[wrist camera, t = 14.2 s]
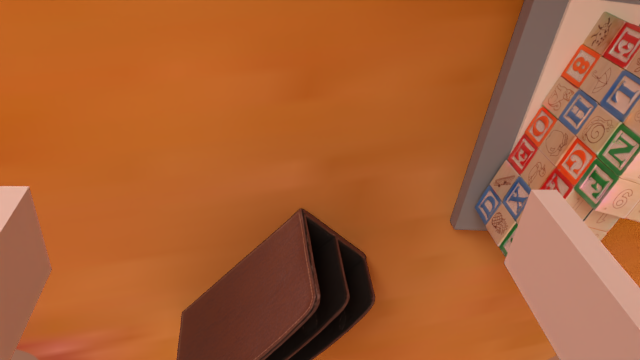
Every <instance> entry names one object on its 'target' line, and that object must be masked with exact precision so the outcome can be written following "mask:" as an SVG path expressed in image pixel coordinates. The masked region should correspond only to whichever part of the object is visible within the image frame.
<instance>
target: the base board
mask: <svg viewBox="0 0 640 360" xmlns="http://www.w3.org/2000/svg"><path fill="white" fill-rule="evenodd" d="M604 12H608V13H610V14H612V15H614V16H616V17H618V18H620V19H622V20H625V21H627V22H629V23H631V24H635V25H637V26H639V27H640V0H524V3H523V6H522V9H521V12H520V15H519V18H518V21H517V24H516V27H515V30H514V33H513V36H512V39H511V42H510V45H509V47H508V50H507V53H506V56H505V59H504V62H503V65H502V68H501V71H500V74H499V77H498V80H497V83H496V86H495V89H494V92H493V95H492V98H491V101H490V104H489V107H488V109H487V112H486V115H485V118H484V121H483V124H482V127H481V130H480V133H479V136H478V139H477V142H476V145H475V148H474V151H473V154H472V157H471V160H470V163H469V166H468V169H467V171H466V174H465V177H464V180H463V183H462V186H461V189H460V192H459V195H458V198H457V201H456V204H455V207H454V210H453V213H452V216H451V219H450V222H451V224H452V226H453V228H454V229H456V230H483V231H488V230H487V228H486V226H485V225H484V223H483V221H482V219H481V218H480V216H479V214H478V213H477V211H476V209H475V206H476V204H477V203H478V201H479V200H480V198H481V197H482V195H483V193H484V192H485V190H486V189H487V187H488V186H489V185H490V183H491V181H492V180H493V178H494V177H495V175H496V174H497V172H498V171H499V169H500V168H501V166H502V165H503V163H504V162H505V160H507V159H508V157H509V155H510V154H511V152H512V151H513V150H514V148H515V146H516V145H517V143H518V142H519V140H520V139H521V137H522V136H523V135H524V133H525V131H526V129H527V127H528V126H529V124H530V123H531V121H532V120H533V118H534V117H535V115H536V114H537V112H538V110H539V109H540V108H541V106H542V103H543V101H544V100H545V98H546V97H547V95H548V93H549V92H550V90H551V89H552V87H553V86H554V84H555V83H556V81H557V80H558V79H559V77H560V76H561V75H562V73H563V71H564V70H565V68H566V67H567V65H568V64H569V62H570V60H571V59H572V58H573V56H574V54H575V53H576V51H577V50H578V48H579V47H580V46H581V45H582V44H583V43H584V41H585V39H586V38H587V36H588V35H589V33H590V32H591V30H592V29H593V27H594V26H595V24H596V23H597V21H598V20H599V18H600V17H601V15H602V14H603V13H604Z"/></svg>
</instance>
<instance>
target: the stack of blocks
mask: <svg viewBox="0 0 640 360" xmlns="http://www.w3.org/2000/svg"><path fill="white" fill-rule="evenodd" d="M531 190H557V191H558V192H559V193H560V194H561V195H562V197H563V198H564V199H565V200H566V201H567V202H568V204H569V205H570V206H571V207H572V208H573V210H574V211H575V212H576V213H577V214H578V215H579V217H580V218H581V219H582V220H583V221H584V223H585V224H586V225H587V226H588V227H589V229H590V230H591V231H592V232H593V233H594V234H595V236H596V237H597V238H598V239H599V240H600V241H601V240H602V239H603V238H604V236H605V235H606V234H607V232H608V231H609V230H610V229H611V228H612V227H613V226H614V224H615V223H616V222H617V221H618V220H619V218H623V219H624V218H626V219H630V220H634V221H637V222H640V27H639V26H637V25H635V24H631V23H629V22H627V21H625V20H622V19H620V18H618V17H616V16H614V15H612V14H610V13H608V12H604V13H603V14H602V15H601V17H600V18H599V20H598V21H597V23H596V24H595V26H594V27H593V29H592V30H591V32H590V33H589V35H588V36H587V38H586V39H585V41H584V43H583V44H582V45H581V46H580V47H579V48H578V50H577V51H576V53H575V54H574V56H573V58H572V59H571V60H570V62H569V64H568V65H567V67H566V68H565V70H564V71H563V73H562V75H561V76H560V77H559V79H558V80H557V81H556V83H555V84H554V86H553V87H552V89H551V90H550V92H549V93H548V95H547V97H546V98H545V100H544V101H543V103H542V106H541V108H540V109H539V110H538V112H537V114H536V115H535V117H534V118H533V120H532V121H531V123H530V124H529V126H528V127H527V129H526V131H525V133H524V135H523V136H522V137H521V139H520V140H519V142H518V143H517V145H516V146H515V148H514V150H513V151H512V152H511V154H510V155H509V157H508V159H507V160H505V162H504V163H503V165H502V166H501V168H500V169H499V171H498V172H497V174H496V175H495V177H494V178H493V180H492V181H491V183H490V185H489V186H488V187H487V189H486V190H485V192H484V193H483V195H482V197H481V198H480V200H479V201H478V203H477V204H476V206H475V209H476V211H477V213H478V214H479V216H480V218H481V219H482V221H483V223H484V225H485V226H486V228H487V230H488V232H489V233H490V235H491V237H492V238H493V240H494V241H495V243H496V244H497V246H499V247H500V249H501V251H502V253H503V254H504V256H505V257H506V256H507V253H508V251H509V248H510V245H511V243H512V240H513V237H514V235H515V232H516V229H517V227H518V224H519V221H520V219H521V216H522V213H523V211H524V208H525V205H526V202H527V200H528V197H529V194H530V192H531Z"/></svg>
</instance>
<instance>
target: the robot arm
mask: <svg viewBox="0 0 640 360" xmlns="http://www.w3.org/2000/svg"><path fill="white" fill-rule="evenodd" d="M504 264H505V266H506V268H507V269H508V271H509V273H510V275H511V276H512V278H513V280H514V281H515V283H516V285H517V287H518V288H519V290H520V292H521V293H522V295H523V297H524V299H525V300H526V302H527V304H528V306H529V307H530V309H531V311H532V312H533V314H534V316H535V318H536V319H537V321H538V323H539V325H540V326H541V328H542V330H543V331H544V333H545V335H546V337H547V338H548V340H549V342H550V344H551V345H552V347H553V349H554V350H555V352H556V354H557V356H558V357H559V359H560V360H640V288H639V287H638V285H637V284H636V283H635V282H634V281H633V279H632V278H631V277H630V276H629V275H628V274H627V272H626V271H625V270H624V269H623V268H622V266H621V265H620V264H619V263H618V262H617V261H616V259H615V258H614V257H613V256H612V255H611V253H610V252H609V251H608V250H607V249H606V247H605V246H604V245H603V244H602V243H601V242H600V240H599V239H598V238H597V237H596V236H595V234H594V233H593V232H592V231H591V230H590V229H589V227H588V226H587V225H586V224H585V223H584V221H583V220H582V219H581V218H580V217H579V215H578V214H577V213H576V212H575V211H574V210H573V208H572V207H571V206H570V205H569V204H568V202H567V201H566V200H565V199H564V198H563V197H562V195H561V194H560V193H559V192H558V191H557V190H531V192H530V194H529V197H528V200H527V202H526V205H525V208H524V211H523V213H522V216H521V219H520V221H519V224H518V227H517V229H516V232H515V235H514V237H513V240H512V243H511V245H510V248H509V251H508V253H507V256H506V259H505V261H504ZM51 270H52V268H51V265H50V261H49V257H48V254H47V250H46V247H45V243H44V239H43V236H42V232H41V228H40V225H39V221H38V217H37V214H36V210H35V206H34V203H33V199H32V195H31V192H30V188H29V186H0V360H11V358H12V356H13V354H14V351H15V349H16V347H17V345H18V343H19V340H20V338H21V336H22V334H23V332H24V329H25V327H26V325H27V323H28V321H29V318H30V316H31V314H32V312H33V310H34V307H35V305H36V303H37V301H38V299H39V296H40V294H41V292H42V290H43V288H44V285H45V283H46V281H47V279H48V277H49V274H50V272H51Z"/></svg>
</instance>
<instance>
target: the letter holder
mask: <svg viewBox="0 0 640 360" xmlns="http://www.w3.org/2000/svg"><path fill="white" fill-rule="evenodd" d="M374 302H375V294H374V291H373V287H372V282H371V279H370V274H369V270H368V266H367V262H366V256H365V254H364V253H363V252H361V251H360V250H359V249H357V248H356V247H355V246H353V245H352V244H351V243H349V242H348V241H346V240H345V239H344V238H342V237H341V236H340V235H338V234H337V233H336V232H334V231H333V230H332V229H330V228H329V227H328V226H326V225H325V224H324V223H322V222H321V221H320V220H318V219H317V218H315V217H314V216H313V215H311V214H310V213H308V212H307V211H305V210H304V209H299V211H297V212H296V213H295V214H294V215H293V216H292V217H291V218H290V219H289V220H288V221H286V222H285V223H284V224H283V225H282V226H281V227H280V228H279V229H277V230H276V231H275V232H274V233H273V234H272V235H271V236H270V237H268V238H267V239H266V240H265V241H264V242H263V243H261V244H260V245H259V246H258V247H257V248H256V249H254V250H253V251H252V252H251V253H250V254H249V255H247V256H246V257H245V258H244V259H243V260H242V261H240V262H239V263H238V264H237V265H236V266H235V267H234V268H232V269H231V270H230V271H229V272H228V273H227V274H226V275H224V276H223V277H222V278H221V279H220V280H219V281H218V282H217V283H215V284H214V285H213V286H212V287H211V288H210V289H208V290H207V291H206V292H205V293H204V294H203V295H202V296H201V297H199V298H198V299H197V300H196V301H195V302H194V303H193V304H191V305H190V306H189V307H188V308H187V309H186V310H184V311H183V312H182V316H181V327H180V335H179V343H178V350H177V351H178V353H177V360H312V359H314V358H315V357H316V356H318V355H319V354H320V353H322V352H323V351H324V350H326V349H327V348H328V347H329V346H331V345H332V344H333V343H334V342H336V341H337V340H338V339H339V338H341V337H342V336H343V335H344V334H345V333H346V332H348V331H349V330H350V329H351V328H352V327H353V326H354V325H355V324H356V323H357V322H359V321H360V320H361V319H362V318H363V317H364V316H365V315H366V314H367V312H368V311H369V310H370V309H371V308H372V306H373V304H374Z"/></svg>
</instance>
